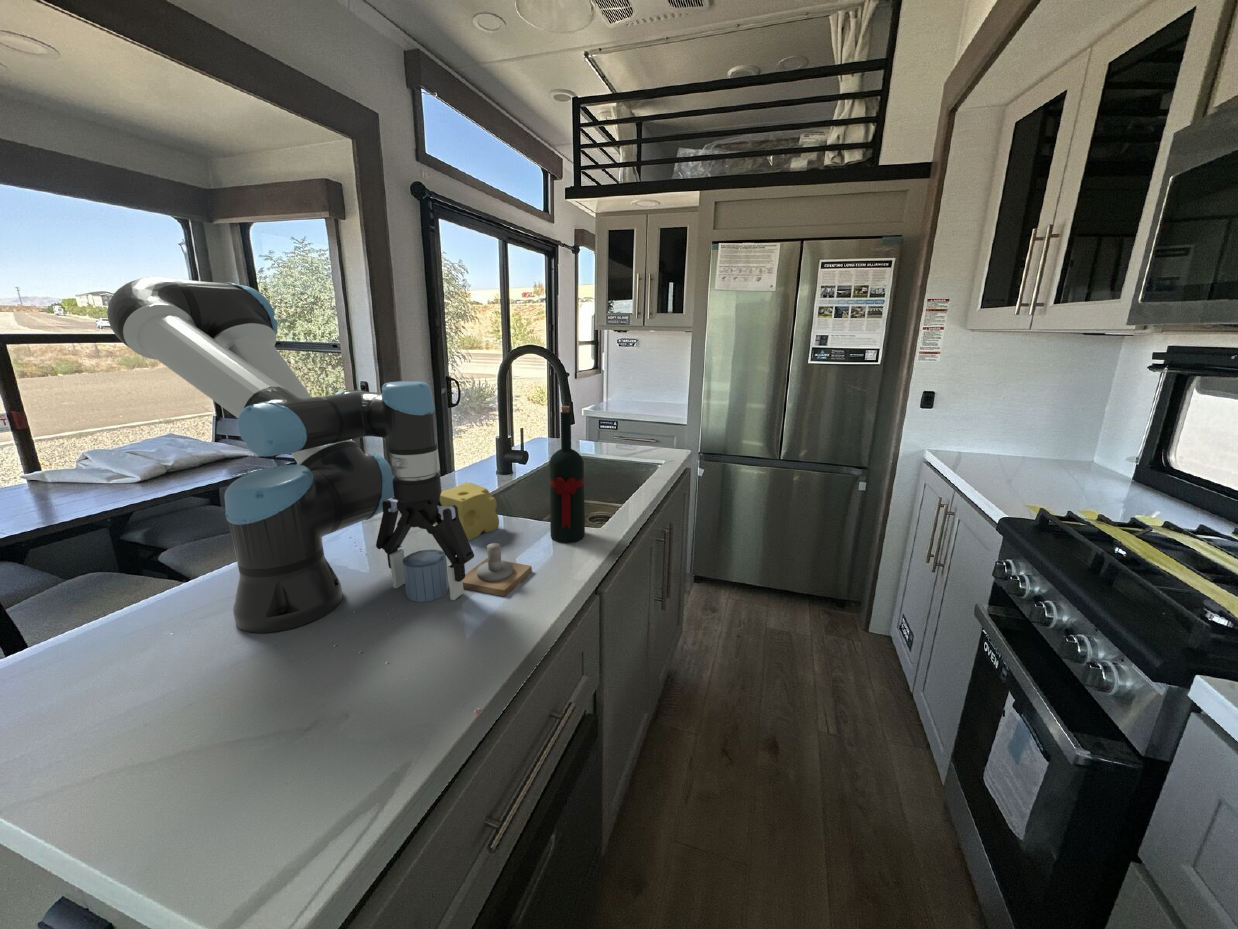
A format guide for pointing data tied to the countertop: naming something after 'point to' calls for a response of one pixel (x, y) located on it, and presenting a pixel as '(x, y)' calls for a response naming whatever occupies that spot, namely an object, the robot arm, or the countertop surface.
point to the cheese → (472, 508)
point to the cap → (425, 575)
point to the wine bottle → (566, 488)
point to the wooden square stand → (495, 574)
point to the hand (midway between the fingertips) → (428, 590)
